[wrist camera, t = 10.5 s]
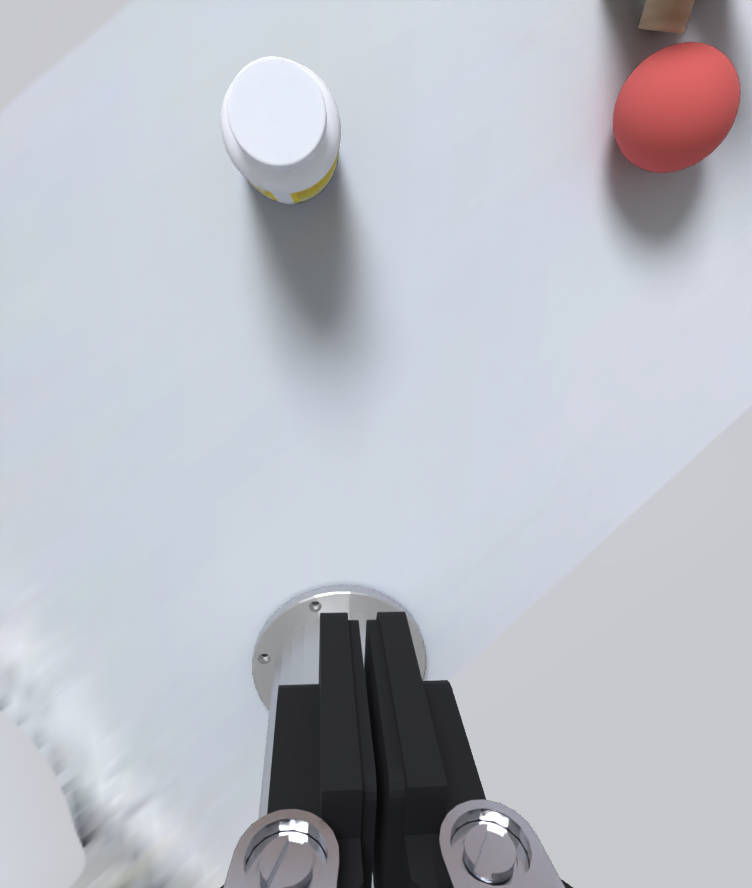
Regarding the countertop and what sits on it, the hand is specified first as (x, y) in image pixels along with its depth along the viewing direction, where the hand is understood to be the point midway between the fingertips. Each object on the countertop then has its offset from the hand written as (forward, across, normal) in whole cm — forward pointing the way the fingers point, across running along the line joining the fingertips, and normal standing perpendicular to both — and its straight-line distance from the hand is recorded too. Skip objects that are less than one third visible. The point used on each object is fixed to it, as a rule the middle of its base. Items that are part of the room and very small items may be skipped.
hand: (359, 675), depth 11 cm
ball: (+24, -18, -16) cm, 34 cm away
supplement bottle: (+27, +3, -13) cm, 30 cm away
